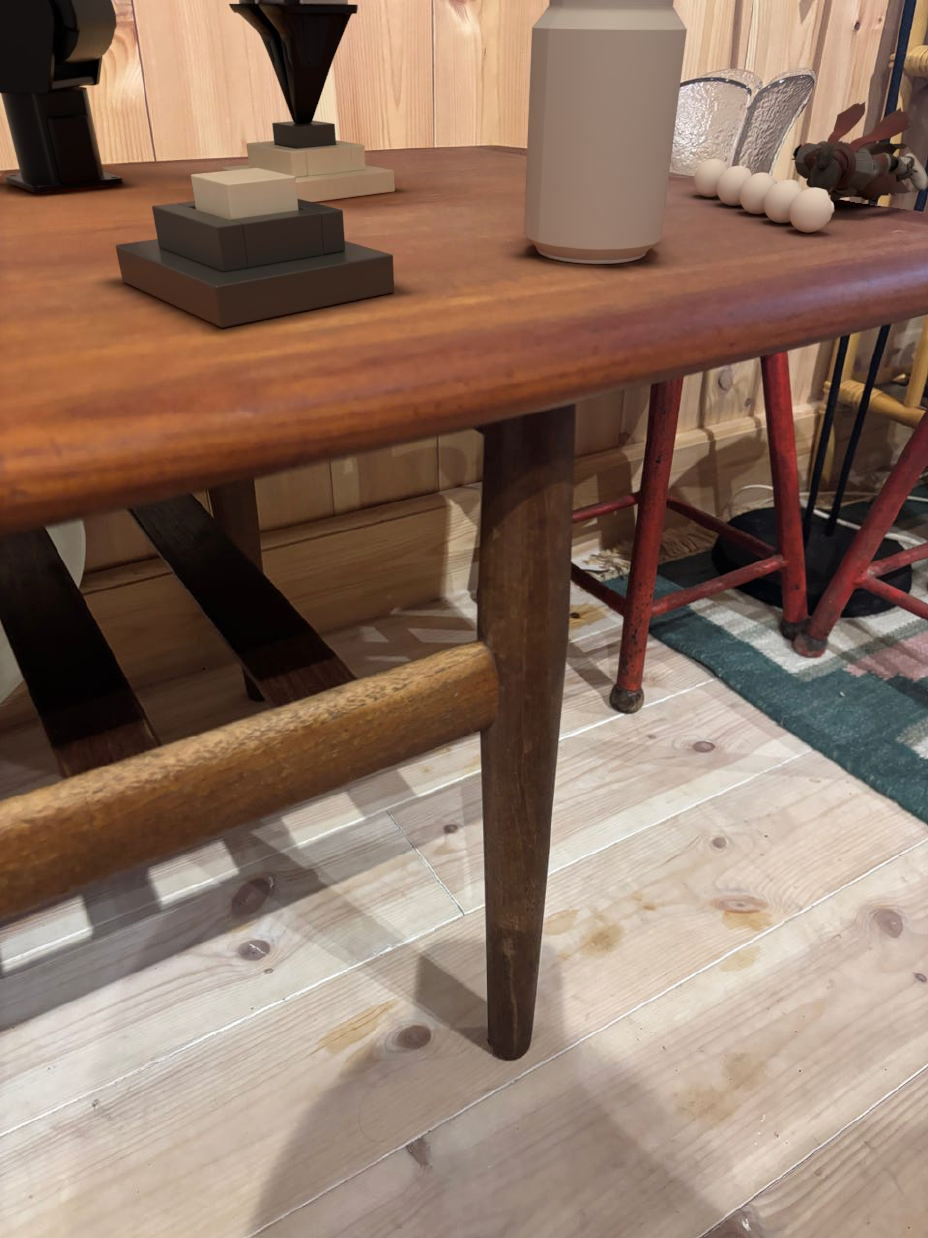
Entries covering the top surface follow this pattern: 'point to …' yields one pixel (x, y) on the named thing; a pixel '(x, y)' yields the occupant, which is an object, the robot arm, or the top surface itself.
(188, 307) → the dark grey stepped block
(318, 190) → the beige stepped base
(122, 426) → the top surface
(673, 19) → the can
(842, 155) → the action figure
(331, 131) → the black key
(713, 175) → the spheres
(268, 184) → the beige square block
